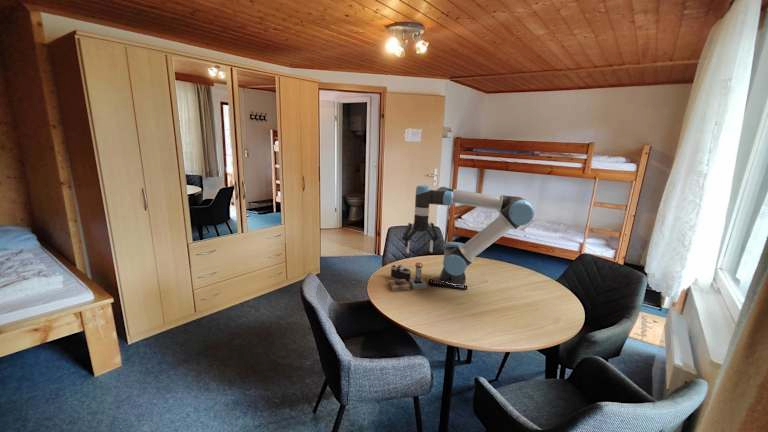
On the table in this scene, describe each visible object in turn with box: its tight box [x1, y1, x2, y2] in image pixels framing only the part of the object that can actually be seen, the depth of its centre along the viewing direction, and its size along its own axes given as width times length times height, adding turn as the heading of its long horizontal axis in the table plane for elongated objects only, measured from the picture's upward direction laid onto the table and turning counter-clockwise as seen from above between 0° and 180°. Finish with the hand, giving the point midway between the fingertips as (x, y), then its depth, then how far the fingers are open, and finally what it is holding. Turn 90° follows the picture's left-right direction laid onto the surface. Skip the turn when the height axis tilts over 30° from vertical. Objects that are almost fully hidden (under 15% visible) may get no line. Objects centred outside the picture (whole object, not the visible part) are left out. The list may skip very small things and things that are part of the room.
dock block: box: [387, 279, 411, 293], centre depth 181 cm, size 10×10×2 cm
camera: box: [390, 264, 412, 283], centre depth 194 cm, size 13×8×9 cm, turn 58°
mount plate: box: [408, 278, 428, 290], centre depth 184 cm, size 8×8×2 cm
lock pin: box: [414, 262, 423, 284], centre depth 183 cm, size 4×4×13 cm
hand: (419, 252), depth 180 cm, fingers open, 13 cm apart
